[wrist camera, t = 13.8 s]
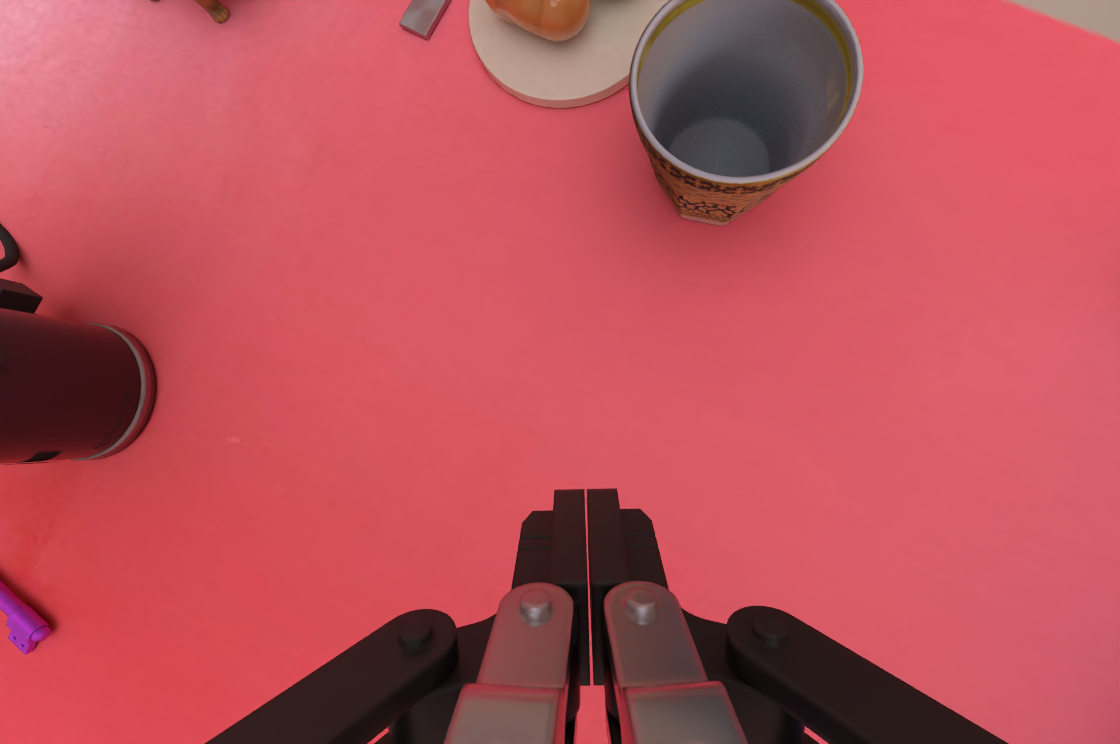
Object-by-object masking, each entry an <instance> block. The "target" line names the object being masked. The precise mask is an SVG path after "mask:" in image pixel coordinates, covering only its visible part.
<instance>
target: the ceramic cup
mask: <svg viewBox="0 0 1120 744" xmlns="http://www.w3.org/2000/svg"><path fill="white" fill-rule="evenodd" d="M862 82H863V59H862V52H861V48H860V43H859V40H858V37H857V34H856V32H855V30H854V28H853V26H852V24H851V22H850V20H849V19H848V17H847V16H846V14H845V13H844V11H843V10H842V9H841V8H840V6H839V5H838V4H837V3H836V2H835V1H834V0H669V1H668V2H667V3H666V4H665V5H663V6H662V7H661V9H660V10H659V11H658V12H657V13H656V14H655V15H654V17H653V18H652V19H651V21H650V22H649V23H648V25H647V26H646V28H645V30H644V31H643V33H642V35H641V37H640V39H639V41H638V43H637V46H636V48H635V51H634V54H633V58H632V62H631V66H630V72H629V96H630V103H631V108H632V113H633V118H634V122H635V125H636V128H637V131H638V134H639V136H640V139H641V142H642V144H643V146H644V148H645V150H646V152H647V153H648V156H649V159H650V161H651V164H652V167H653V169H654V173H655V176H656V178H657V181H658V183H659V185H660V186H661V188H662V190H663V191H664V193H665V194H666V196H667V197H668V199H669V200H670V202H671V203H672V205H673V206H674V208H675V209H676V211H677V212H678V214H679V215H680V216H681V217H682V218H684V219H688V220H693V221H699V222H704V223H709V224H714V225H719V226H721V225H726V224H728V223H729V222H731V221H733V220H734V219H736V218H738V217H739V216H741V215H742V214H744V213H746V212H747V211H749V210H751V209H752V208H754V207H756V206H757V205H759V204H760V203H762V202H763V201H764V200H766V199H767V198H768V197H769V196H771V195H772V194H773V193H774V192H775V191H776V190H778V189H779V188H780V187H782V186H783V185H785V184H787V183H788V182H790V181H791V180H793V179H794V178H795V177H797V176H798V175H800V174H801V173H802V172H803V171H805V170H806V169H807V168H809V167H810V166H811V165H812V164H813V163H815V162H816V161H817V160H818V159H819V158H820V157H821V156H822V155H823V154H824V153H825V152H826V151H827V150H828V149H829V148H830V147H831V146H832V145H833V144H834V143H835V141H836V140H837V139H838V138H839V137H840V135H841V134H842V132H843V131H844V130H845V128H846V127H847V125H848V123H849V122H850V120H851V118H852V116H853V113H854V111H855V109H856V106H857V104H858V101H859V97H860V93H861V88H862Z"/></svg>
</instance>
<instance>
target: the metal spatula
mask: <svg viewBox="0 0 1120 744" xmlns="http://www.w3.org/2000/svg"><path fill="white" fill-rule="evenodd" d="M450 1H451V0H412V2H411V4H410V5H409V7H408V9H407V11H406V12H405V14H404V16H403V17H402V19H401V21H400V23H399V24H400V26H401V27H402V28H403V29H405V30H407V31H409V32H411V33H413V34H415V35H417V36H419V37H422V38H424V39H426V40H428V39H429V37H430V36H431V34H432V32H433V30H434V29H435V27H436V25H437V23H438V22H439V20H440V18H441V16H442V15H443V13H444V11H445V9H446V8H447V6H448V4H449V3H450Z"/></svg>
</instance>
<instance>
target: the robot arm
mask: <svg viewBox="0 0 1120 744" xmlns="http://www.w3.org/2000/svg"><path fill="white" fill-rule="evenodd" d="M0 240H1V242H2V244H3V246H4V249H5V257H4V258H3V259H1V260H0V272H2V271H5V270H7V269H9V268H11V267H13V266H14V265H15V264H17V262H18V259H19V250H18V247H17V244H16V242H15V241H14V239H13V238H12V236H11V235H10V234H9V233H8V231H7V230H6V229H5V228H4V227H3V226H2V225H1V224H0ZM42 299H43V297H42V296H40V295H39V294H37V293H36V292H34V291H33V290H31V289H30V288H28V287H27V286H25V285H24V284H22V283H18V282H13V281H9V280H4V279H0V464H4V465H9V464H5V463H20V462H38V461H53V460H92V459H101V458H105V457H108V456H111V455H113V454H115V453H117V452H119V451H120V450H122V449H124V448H125V447H126V446H128V445H129V444H130V443H131V442H132V441H133V440H134V439H135V438H136V437H137V435H138V434H139V433H140V431H141V430H142V428H143V427H144V425H145V423H146V421H147V419H148V417H149V414H150V412H151V409H152V405H153V400H154V393H155V379H154V372H153V368H152V364H151V361H150V359H149V357H148V354H147V353H146V351H145V349H144V348H143V346H142V345H141V344H140V343H139V342H138V340H137V339H135V338H134V337H133V336H132V335H131V334H129V333H128V332H126V331H124V330H122V329H120V328H117V327H113V326H108V325H103V324H97V323H84V322H78V321H72V320H67V319H61V318H56V317H51V316H45V315H40V314H34V313H35V311H36V309H37V307H38V306H39V304H40V302H41V301H42ZM63 462H64V461H63ZM41 463H49V462H41ZM20 464H31V463H20ZM587 517H588V557H589V584H590V608H591V633H592V657H593V681H594V685H604V688H605V710H606V730H607V737H608V743H609V744H819V743H818V742H817V741H815V740H814V739H813V738H811V737H810V736H809V735H807V734H806V733H805V732H804V729H805V726H806V727H807V728H809V729H810V730H811V731H813V732H814V733H815V734H817V735H818V736H819V737H821V738H822V739H823V740H825V741H826V742H827V743H829V744H1008V743H1007V742H1005V741H1003V740H1002V739H1000V738H998V737H996V736H995V735H993V734H991V733H990V732H988V731H986V730H985V729H983V728H981V727H980V726H978V725H976V724H975V723H973V722H971V721H969V720H968V719H966V718H964V717H963V716H961V715H959V714H958V713H956V712H954V711H953V710H951V709H949V708H947V707H946V706H944V705H942V704H941V703H939V702H937V701H936V700H934V699H932V698H931V697H929V696H927V695H926V694H924V693H922V692H920V691H919V690H917V689H915V688H914V687H912V686H910V685H909V684H907V683H905V682H904V681H902V680H900V679H899V678H897V677H895V676H893V675H892V674H890V673H888V672H887V671H885V670H883V669H882V668H880V667H878V666H877V665H875V664H873V663H871V662H870V661H868V660H866V659H865V658H863V657H861V656H860V655H858V654H856V653H855V652H853V651H851V650H850V649H848V648H846V647H844V646H843V645H841V644H839V643H838V642H836V641H834V640H833V639H831V638H829V637H828V636H826V635H824V634H823V633H821V632H819V631H817V630H816V629H814V628H812V627H811V626H809V625H807V624H806V623H804V622H802V621H801V620H799V619H797V618H795V617H794V616H792V615H790V614H788V613H786V612H784V611H781V610H779V609H775V608H772V607H766V606H749V607H744V608H742V609H739V610H737V611H735V612H734V613H733V614H732V615H731V616H730V618H729V619H728V622H727V624H723V623H719V622H714V621H710V620H706V619H702V618H699V617H697V616H694V615H692V614H690V613H688V612H687V611H685V610H684V609H682V608H681V607H680V604H679V602H678V600H677V598H676V597H675V595H674V594H673V593H672V592H670V591H669V589H668V585H667V581H666V577H665V573H664V569H663V565H662V560H661V556H660V552H659V548H658V544H657V540H656V537H655V532H654V528H653V524H652V520H651V519H650V518H649V517H648V516H647V515H646V514H645V513H644V512H643V511H642V510H641V509H620V506H619V500H618V493H617V489H587ZM580 686H590V658H589V618H588V580H587V552H586V525H585V497H584V489H572V490H555V491H554V505H553V511H532V513H531V514H530V515H529V516H528V517H527V518H526V519H525V520H524V522H523V523H522V527H521V533H520V539H519V546H518V552H517V558H516V564H515V570H514V576H513V582H512V588H511V591H510V592H508V593H507V594H506V595H505V596H504V597H503V598H502V600H501V602H500V604H499V607H498V610H497V613H496V614H495V615H493V616H491V617H490V618H488V619H485V620H483V621H481V622H477V623H474V624H470V625H466V626H462V627H459V628H456V625H455V623H454V621H453V620H452V618H451V617H450V616H448V615H447V614H445V613H443V612H441V611H438V610H432V609H421V610H415V611H410V612H407V613H404V614H402V615H400V616H398V617H396V618H394V619H393V620H391V621H389V622H388V623H386V624H385V625H383V626H382V627H380V628H379V629H377V630H376V631H374V632H373V633H371V634H370V635H368V636H367V637H365V638H364V639H362V640H361V641H359V642H358V643H356V644H355V645H353V646H352V647H350V648H349V649H347V650H346V651H344V652H343V653H341V654H340V655H338V656H337V657H335V658H334V659H332V660H330V661H329V662H327V663H326V664H324V665H323V666H321V667H320V668H318V669H317V670H315V671H314V672H312V673H311V674H309V675H308V676H306V677H305V678H303V679H302V680H300V681H299V682H297V683H296V684H294V685H293V686H291V687H290V688H288V689H287V690H285V691H284V692H282V693H281V694H279V695H278V696H276V697H275V698H273V699H272V700H270V701H268V702H267V703H265V704H264V705H262V706H261V707H259V708H258V709H256V710H255V711H253V712H252V713H250V714H249V715H247V716H246V717H244V718H243V719H241V720H240V721H238V722H237V723H235V724H234V725H232V726H231V727H229V728H228V729H226V730H225V731H223V732H222V733H220V734H219V735H217V736H216V737H214V738H213V739H211V740H210V741H208V742H206V743H205V744H367V743H369V742H370V741H371V740H372V739H373V738H375V737H376V736H377V735H378V734H380V733H381V732H382V731H383V730H384V729H386V728H387V727H388V729H389V732H388V733H387V734H385V735H384V736H383V737H382V738H381V739H379V740H378V741H377V742H376V743H375V744H576V737H577V712H578V710H579V707H580Z"/></svg>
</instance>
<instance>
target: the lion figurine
mask: <svg viewBox="0 0 1120 744" xmlns="http://www.w3.org/2000/svg"><path fill="white" fill-rule="evenodd" d="M151 1H156V0H151ZM194 1H196V2H197V3H198V4H200V5H201V6H202V7H203V8H204V9H205V10H206V11H207V12H208V13H209V14H210V15H211V16H212V18H213V19H214V20H215V21H216V22H217V23H223V22H225V21H226V20H227V19H228V16H229V11H228V10H227V9H226V8H225V7H223V6H222V4H221V3H220V2H219V1H217V0H194Z"/></svg>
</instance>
